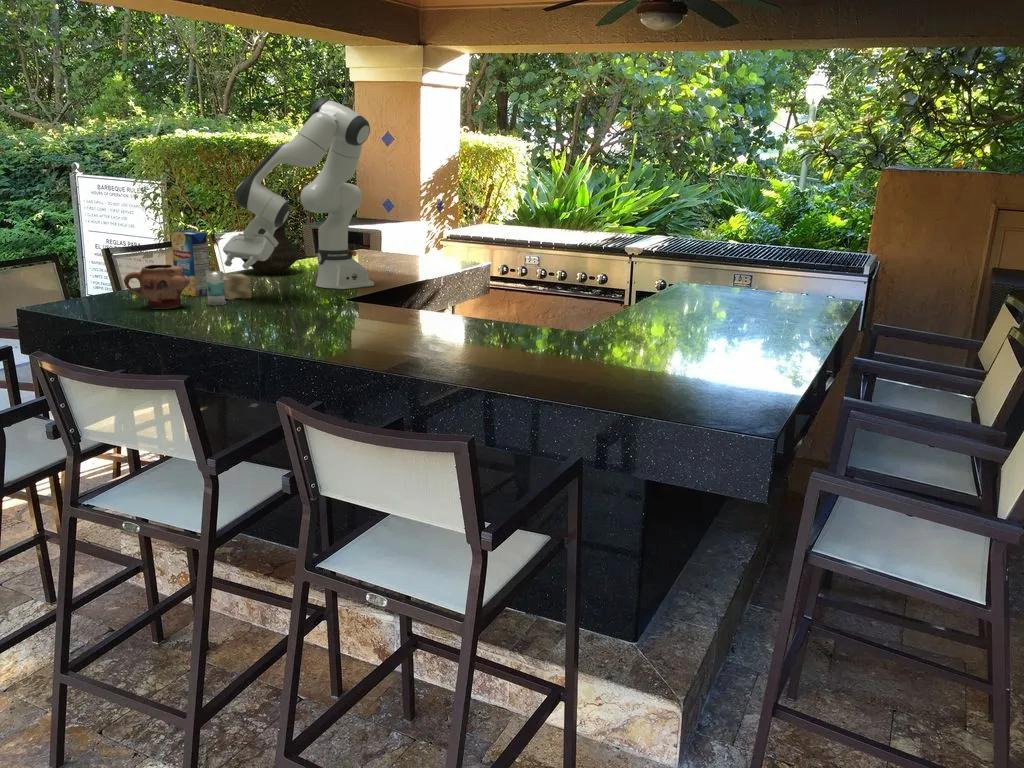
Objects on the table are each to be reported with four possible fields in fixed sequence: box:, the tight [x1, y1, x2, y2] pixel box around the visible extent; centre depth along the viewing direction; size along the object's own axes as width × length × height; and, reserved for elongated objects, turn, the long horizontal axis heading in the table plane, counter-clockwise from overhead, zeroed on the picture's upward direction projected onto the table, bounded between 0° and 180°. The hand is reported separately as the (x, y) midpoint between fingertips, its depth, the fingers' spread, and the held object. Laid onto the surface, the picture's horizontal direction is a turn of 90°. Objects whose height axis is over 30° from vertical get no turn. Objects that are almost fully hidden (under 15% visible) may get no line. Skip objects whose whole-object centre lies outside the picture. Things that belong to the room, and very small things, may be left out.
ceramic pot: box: [240, 216, 301, 275], centre depth 355 cm, size 24×24×22 cm
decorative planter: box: [123, 264, 190, 310], centre depth 281 cm, size 20×12×14 cm, turn 117°
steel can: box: [206, 270, 226, 307], centre depth 290 cm, size 6×6×11 cm
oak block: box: [224, 273, 252, 300], centre depth 304 cm, size 10×10×7 cm
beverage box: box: [170, 229, 211, 297], centre depth 305 cm, size 7×11×22 cm, turn 59°
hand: (235, 266), depth 292 cm, fingers open, 8 cm apart
